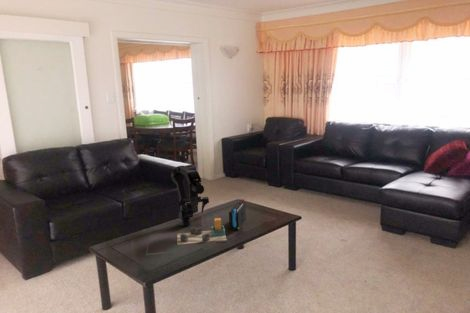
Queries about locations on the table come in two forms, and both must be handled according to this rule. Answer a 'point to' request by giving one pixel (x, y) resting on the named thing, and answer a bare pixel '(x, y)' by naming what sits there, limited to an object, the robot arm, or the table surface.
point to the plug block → (217, 223)
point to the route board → (199, 238)
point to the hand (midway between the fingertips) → (194, 213)
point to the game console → (237, 215)
